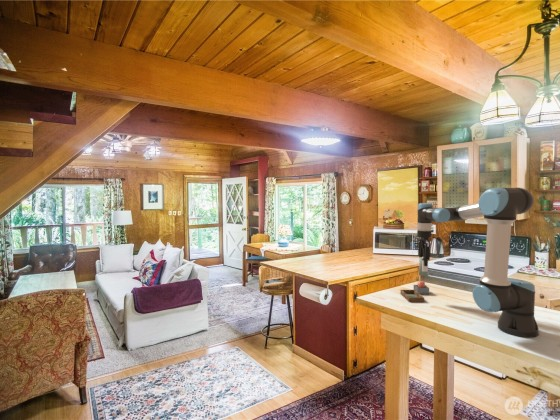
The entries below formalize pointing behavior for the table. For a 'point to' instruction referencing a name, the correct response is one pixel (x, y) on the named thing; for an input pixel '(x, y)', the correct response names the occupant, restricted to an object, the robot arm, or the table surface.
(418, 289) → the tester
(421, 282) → the coral capsule
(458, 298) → the table surface
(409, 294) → the wooden tray
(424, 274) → the cell
